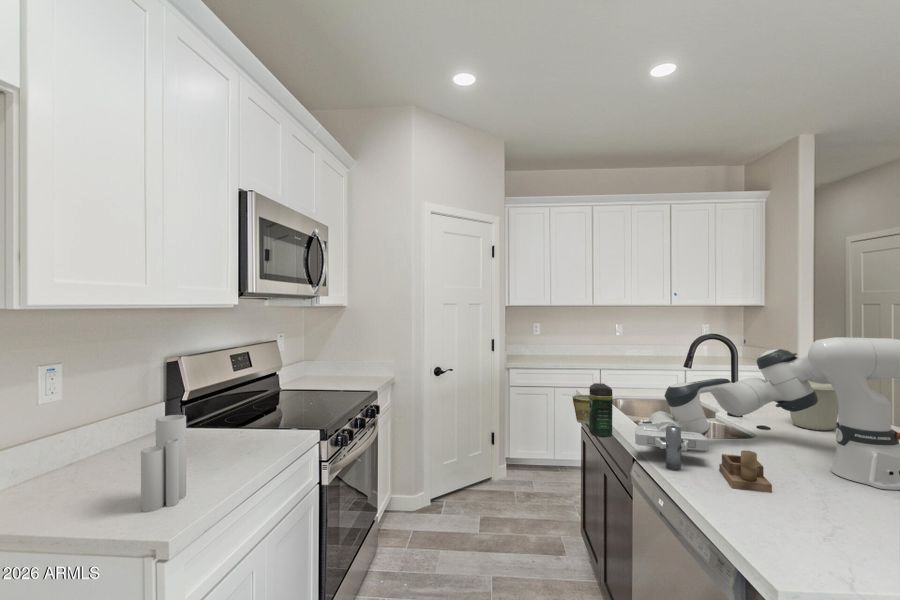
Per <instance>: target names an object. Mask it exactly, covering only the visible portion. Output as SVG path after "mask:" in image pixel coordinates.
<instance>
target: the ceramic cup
mask: <svg viewBox="0 0 900 600" xmlns="http://www.w3.org/2000/svg"><path fill="white" fill-rule="evenodd" d="M572 404H573V407H574V412H575V418H576V419H575V420H576V422H577V423H580V424H585V425H586V424H587V425H589V408H590V396H589V394H574V395H573V396H572Z"/></svg>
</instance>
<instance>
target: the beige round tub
mask: <svg viewBox="0 0 900 600" xmlns="http://www.w3.org/2000/svg"><path fill="white" fill-rule="evenodd" d="M808 381H809V380H808ZM809 383H810V385H811V387H812V389H813V391H815V392H816V395H817V397H818V402H817V404H816V405H814V406H813V407H812V408H811V409H809V410H807V411H802V412H791V411H789V414H790V415H789V416H790V419H791V421H792V423H793V424H794V425H795V426H797V427H798V428H799V427H800V428H804V429H807V430H812V431H831V430H833V429H835V428H836V423H837V422H838V403H837V396H836V393H835V390H834V388H833V386H832V385H831V384H820V383H814V382H811V381H809Z"/></svg>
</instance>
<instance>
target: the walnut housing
mask: <svg viewBox="0 0 900 600" xmlns="http://www.w3.org/2000/svg"><path fill="white" fill-rule="evenodd" d="M718 467H719V469H718V470H719V472H720V473H721V474H722V476H723V477H724V479H725V481H726V482H727V483H728V484H729V486H730V487H731V488H732V489H739V490H746V491H756V492H762V493H764V492H765V493H773V484H772V483H771V482H770V481H769V480H768V479H767V478H766V477H765V476H764V469H765V468H764V466H763V464H762V463H760V462H759V460H758V454H757V452H755V451H751V450H740V455H738V454H737V455H735V454H725V453H722V454H721V463H719V466H718Z"/></svg>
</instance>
